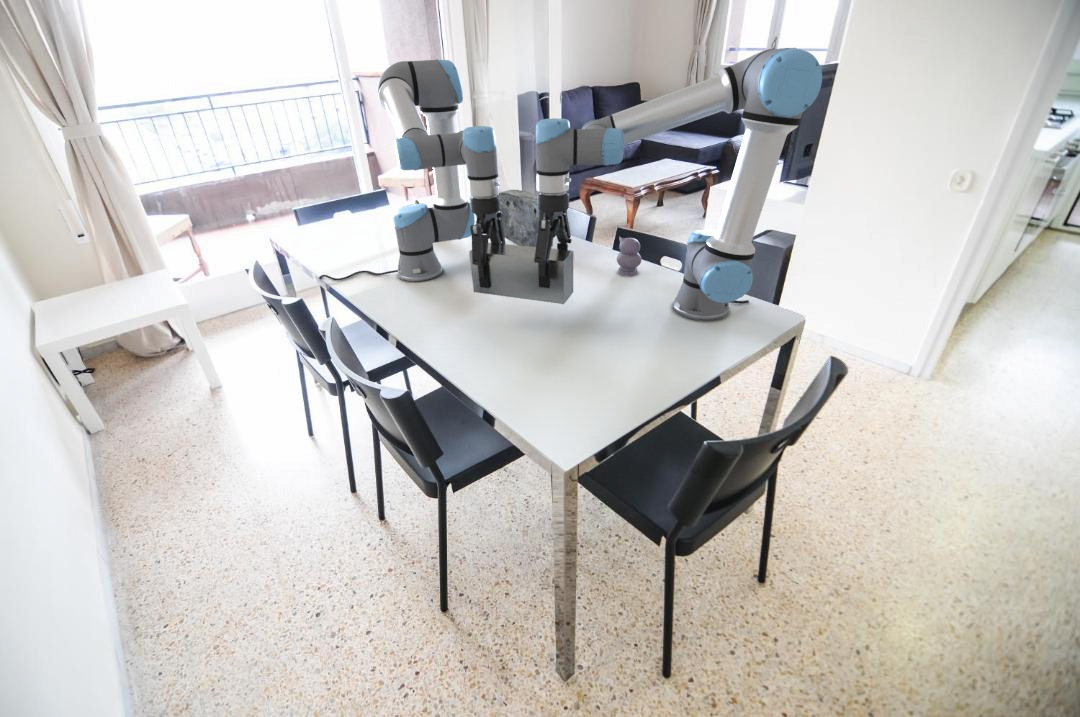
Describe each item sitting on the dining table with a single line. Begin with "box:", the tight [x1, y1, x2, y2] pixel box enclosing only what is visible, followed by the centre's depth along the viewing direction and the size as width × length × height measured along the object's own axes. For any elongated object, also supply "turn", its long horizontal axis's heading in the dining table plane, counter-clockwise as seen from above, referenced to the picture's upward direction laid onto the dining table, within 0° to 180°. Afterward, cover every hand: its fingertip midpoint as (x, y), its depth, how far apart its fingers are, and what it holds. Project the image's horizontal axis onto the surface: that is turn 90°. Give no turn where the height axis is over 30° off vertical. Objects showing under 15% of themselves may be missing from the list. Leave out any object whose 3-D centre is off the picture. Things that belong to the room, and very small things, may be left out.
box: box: [468, 242, 574, 305], centre depth 130 cm, size 26×8×11 cm, turn 69°
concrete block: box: [497, 189, 554, 247], centre depth 191 cm, size 27×9×20 cm, turn 36°
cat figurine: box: [616, 236, 642, 277], centre depth 167 cm, size 9×8×12 cm
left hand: (492, 280), depth 135 cm, fingers closed on box, 8 cm apart
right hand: (553, 277), depth 127 cm, fingers open, 13 cm apart
